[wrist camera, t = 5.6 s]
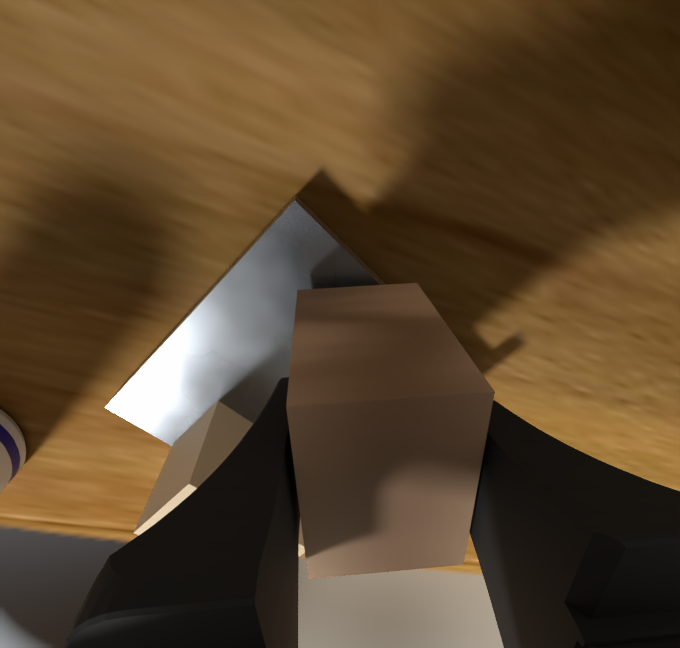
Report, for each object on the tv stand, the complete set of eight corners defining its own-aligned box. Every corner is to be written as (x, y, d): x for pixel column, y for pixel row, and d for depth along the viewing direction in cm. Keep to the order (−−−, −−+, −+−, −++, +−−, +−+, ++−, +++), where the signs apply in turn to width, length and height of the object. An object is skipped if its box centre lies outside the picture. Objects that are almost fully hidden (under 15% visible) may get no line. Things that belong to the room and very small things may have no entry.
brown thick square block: (310, 423, 15) (308, 583, 10) (297, 290, 12) (286, 407, 7) (409, 416, 15) (462, 568, 10) (416, 282, 13) (494, 392, 7)
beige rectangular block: (173, 442, 16) (133, 532, 12) (218, 400, 15) (188, 483, 11) (269, 498, 18) (258, 590, 14) (313, 463, 17) (313, 551, 13)
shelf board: (118, 389, 16) (88, 429, 14) (296, 194, 13) (293, 206, 11) (309, 504, 20) (309, 549, 18) (479, 376, 17) (503, 412, 15)
